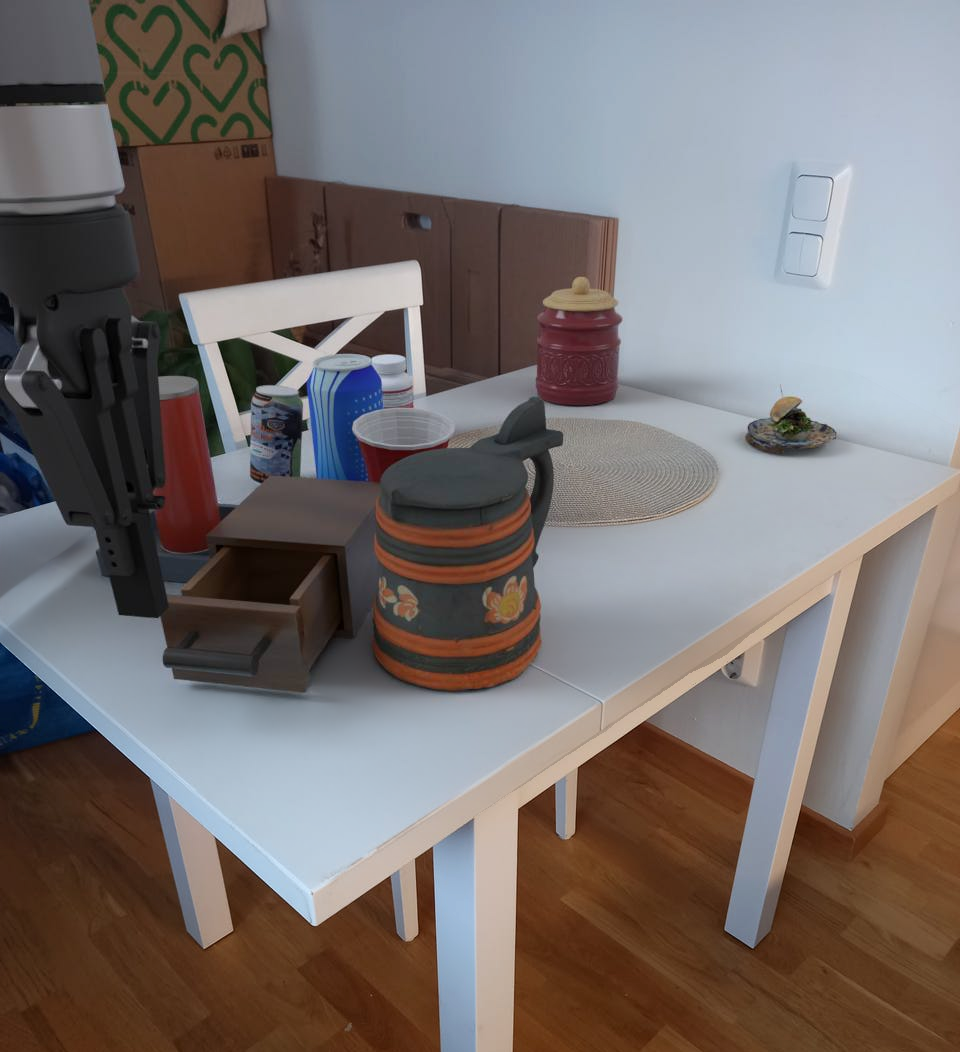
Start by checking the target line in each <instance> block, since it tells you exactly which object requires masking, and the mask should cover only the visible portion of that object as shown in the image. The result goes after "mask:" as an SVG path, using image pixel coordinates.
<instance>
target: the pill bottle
mask: <svg viewBox="0 0 960 1052" xmlns="http://www.w3.org/2000/svg"><path fill="white" fill-rule="evenodd" d="M371 359H372V366H373V367H374V369H375V370H376V372H377V373H378V375H379V376H380V378H381V381H382V395H383V409H390V408H415V407H414V389H413V388H414V387H413V386H414V385H413V379H412V377H411V375H410V374H408V373H407V372H405V371H406V370H407V358H406V357H405V356H404V355H403V356H402V355H400V354H392V353H391V354H389V353H388V354H379V355H375V356H373V357H371Z"/></svg>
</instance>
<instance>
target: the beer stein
mask: <svg viewBox="0 0 960 1052" xmlns="http://www.w3.org/2000/svg"><path fill="white" fill-rule="evenodd" d="M545 406H546V405H545V400H543V399H542V398H540V397H539V396H531V397H529V398H528V399H527V401H524V402H522V403H520V404H518V405H517V406H516V407H515V408H514V409H512V410H511V411H510V412H509V414H508V415H507V417H506V418H505V420H504V421H503V423H502V425H501V427H500V430H499V431H498V433H496V434H493V435H490V436H487V437H483V438H480V439H478V440H477V441H475V442H474V443H473V444H471V446H469V447H447V448H445V449H435V450H429V451H424V452H420V453H417V454H414V455H411V456H408V457H406V458H404V459H402V460H400V461H398V462H396V463H395V464H393V465H391V466H390V467H389V468H388V469H387V470H386V471H385V472H384V473H383V475H382V477H381V481H380V482H381V492H380V495H379V496H378V498H377V500H376V521H375V525H376V528H375V537H374V540H375V544H374V550H375V553H376V555H377V558H378V576H377V594H376V595H375V598H374V602H373V607H372V624H373V625H372V627H373V628H372V629H373V632H372V633H373V635H372V650H373V653H374V656H375V658H376V660H377V661H378V662H379V664H380V665H381V666H382V667H383V668H384V670H385V671H386V672H387V673H389V674H390V675H392V676H393V677H394V678H396V679H398V680H399V681H401V682H404V683H406V684H410V685H413V686H418V687H422V688H426V689H429V690H436V691H445V692H460V691H461V692H462V691H468V690H477V689H478V690H479V689H488V688H492V687H495V686H500V685H504V684H505V683H507V682H511V681H513V680H515V679H516V678H518V677H520V676H521V674H523V672H524V671H525V670H526V669H527V668H529V666H530V664H532V663H533V662H534V660H535V659H536V658H537V656H538V654H539V652H540V649H541V647H542V643H543V641H542V634H541V624H540V623H541V609H542V603H541V599H540V595H539V592H538V590H537V588H536V585H535V582H536V581H535V572H534V568H535V566H536V565H537V562H538V561H539V558H540V557H539V554H538V553H537V547H538V543H539V541H540V539H541V535H542V532H543V531H544V527H545V524H546V521H547V518H548V514H549V512H550V508H551V504H552V499H553V493H554V482H555V474H554V464H553V460H552V456H551V453H550V450H551V449H554V448H558V447H559V448H560V447H562V446H563V444H564V432H562V431H561V430H555V429H548V428H547V418H546V417H547V416H546V407H545ZM528 459H529V460H530V461H532V463H533V466H534V470H535V474H534V475H535V476H534V484H533V488H532V490H531V494H530V492H529V490H528V488H527V487H526V486H527V484H528V483H529V482H528V481H529V474H528V470H527V468H526V466H525V464H524V461H526V460H528Z"/></svg>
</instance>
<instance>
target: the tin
mask: <svg viewBox="0 0 960 1052" xmlns="http://www.w3.org/2000/svg"><path fill="white" fill-rule="evenodd" d="M158 381H159V394H160V408H161V422H162V435H163V449H164V462H165V476H166V481H165V485H164V486H163V487H162V488H155V489H154V491H153V495H155V496H165V505H164V507H163V508H162V509H161V510H156V509H154V513H155V518H156V522H157V527H158V532H159V537H160V542H161V549H162V551H163V553H172V554H185V555H198V556H205V555H208V554H209V551H208V545H207V540H206V535H207V534H208V533H209V532H210V531H211V530H212V529H213V528H214V527H216V526H217V525H218V524H219V523H220V522H221V518H220V512H219V506H218V503H219V501H218V495H217V488H216V483H215V477H214V471H213V465H212V458H211V454H210V448H209V447H210V446H209V440H208V435H207V429H206V423H205V418H204V412H203V406H202V400H201V394H200V386H199V381H198V379H196V378H193V377H191V376H184V375H165V376H164V375H163V376H158ZM147 467H148V465H147Z"/></svg>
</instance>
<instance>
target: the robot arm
mask: <svg viewBox="0 0 960 1052" xmlns="http://www.w3.org/2000/svg"><path fill="white" fill-rule="evenodd" d="M104 85H105V82H104V77H103V71H102V65H101V59H100V55H99V50H98V43H97V39H96V32H95V28H94V21H93V16H92V11H91V6H90V0H0V105H1V106H0V294H4V295H5V296H6V297H7V298H8V299H9V300H10V301H11V303H12V308H13V316H14V321H13V323H14V325H13V335H14V340H15V343H16V344H17V347H18V348H19V352H18V354H17V356H16V358H15V360H14V362H13V364H12V366H11V368H10V369H1V368H0V399H1V400H2V401H3V402H4V403H5V405H6V406H7V407H8V408H9V409H10V410H11V411H12V413H14V415H15V418H16V420H17V422H18V424H19V426H20V428H21V431H22V432H23V435H24V437H25V440H26V441H27V443H28V446H29V448H30V450H31V452H32V454H33V457H34V459H35V461H36V463H37V464H38V467H39V469H40V471H41V474H42V475H43V478H44V480H45V482H46V484H47V486H48V489H49V490H50V491H49V492H50V494H51V495H52V497H53V500H54V502H55V504H56V506H57V508H58V510H59V513H60V515H61V517H62V519H63V521H64V523H65V524H66V525H67V526H71V527H87V528H93V530H94V532H95V535H96V536H95V537H96V540H97V543H98V547H99V548H100V552H101V556H102V559H103V564H104V568H105V570H106V572H107V573H108V575H109V576H108V578H109V582H110V587H111V590H112V594H113V598H114V602H115V606H116V610H117V613H118V616H125V617H135V618H147V619H148V618H149V619H159V618H161V617H160V616H161V615H162V614H163V613H164V612H165V611H166V610H167V609H168V608H169V604H168V600H167V595H166V594H167V590H166V586H165V581H163V576H162V572H161V567H160V563H159V558H158V553H157V549H156V540H155V536H154V530H153V526H152V521H151V516H150V512H149V509H156V510H161V509H162V508H163V507H164V505H165V496H155V495H153V491H154V489H155V488H162V487H163V486H164V485H165V481H166V476H165V462H164V449H163V435H162V422H161V408H160V394H159V381H158V377H159V370H158V369H159V368H158V360H159V359H158V358H159V350H160V341H161V329H160V326H159V324H158V323H157V322H156V321H149V320H148V321H147V320H146V321H145V320H144V321H143V320H142V321H141V320H139V319H137V318H136V317H135V316H134V315H133V310H132V306H131V302H130V300H129V298H128V296H127V295H126V292H125V289H124V288H123V287H126V286H128V285H130V284H132V283H134V282H135V281H137V279H138V278H139V276H140V274H141V266H140V260H139V257H138V251H137V246H136V241H135V236H134V230H133V227H132V226H133V225H132V220H131V215H130V212H129V210H125V206H124V205H123V204H119V203H117V199H116V195H119V194H121V193H123V191H124V189H125V187H126V184H125V180H124V175H123V170H122V166H121V162H120V157H119V151H118V146H117V143H116V142H117V141H116V137H115V133H114V128H113V123H112V119H111V113H110V109H109V105H108V103H106V102H107V98H106V93H105V87H104ZM75 103H88V104H75ZM89 103H93V104H89ZM95 103H96V104H95ZM15 104H39V105H15ZM40 104H42V105H40ZM43 104H44V105H43ZM147 465H148V467H147ZM99 548H98V549H99Z"/></svg>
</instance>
